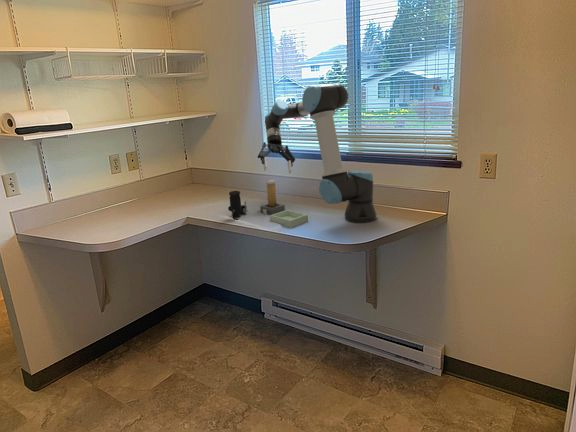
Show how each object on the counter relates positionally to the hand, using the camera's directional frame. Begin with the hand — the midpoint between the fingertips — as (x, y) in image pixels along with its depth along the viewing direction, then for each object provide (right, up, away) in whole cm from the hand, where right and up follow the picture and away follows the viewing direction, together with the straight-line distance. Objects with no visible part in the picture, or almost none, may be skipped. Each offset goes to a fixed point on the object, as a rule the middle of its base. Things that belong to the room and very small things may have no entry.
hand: (278, 170), depth 228 cm
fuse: (-3, -21, +3) cm, 21 cm away
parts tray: (+6, -26, -13) cm, 30 cm away
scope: (-20, -25, -2) cm, 32 cm away
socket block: (-3, -22, +3) cm, 22 cm away
